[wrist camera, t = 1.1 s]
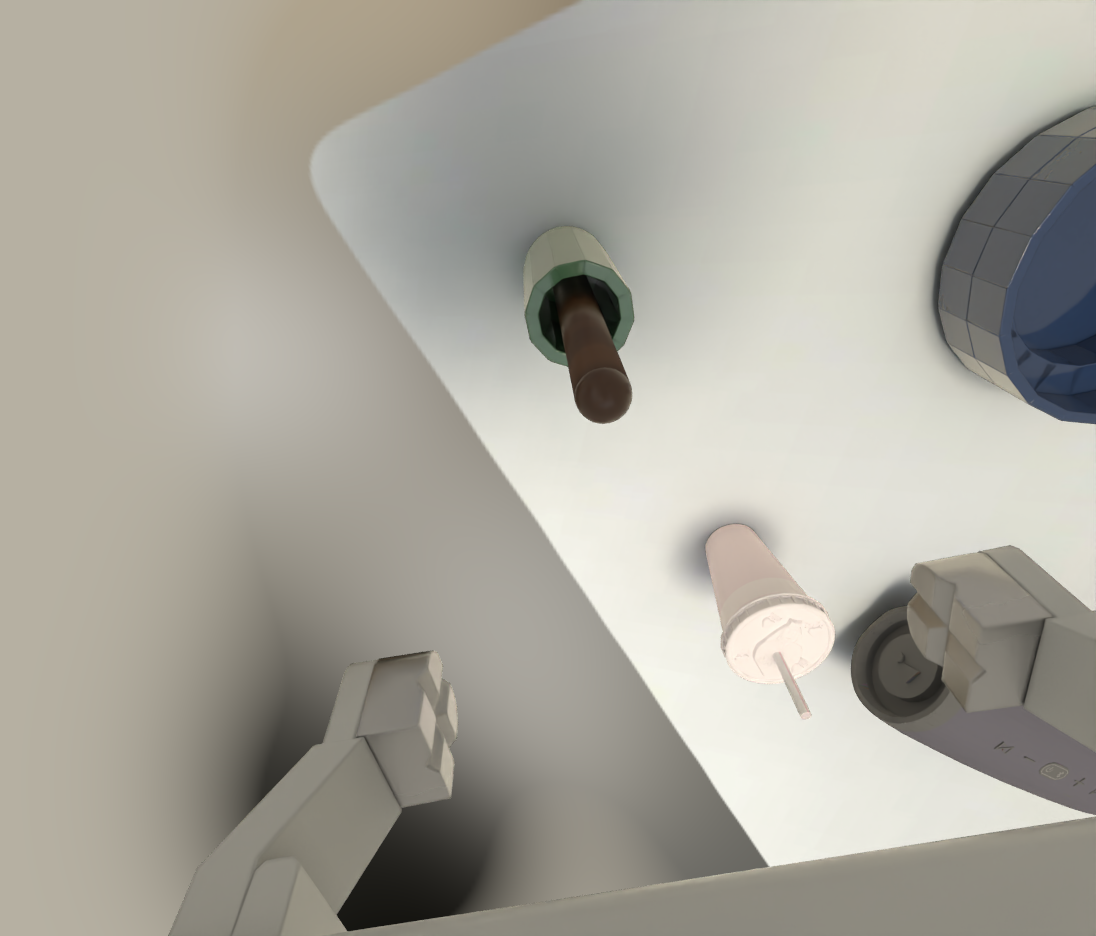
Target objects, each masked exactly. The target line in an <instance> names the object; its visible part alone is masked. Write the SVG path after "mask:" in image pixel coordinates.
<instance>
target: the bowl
mask: <svg viewBox="0 0 1096 936" xmlns="http://www.w3.org/2000/svg"><path fill="white" fill-rule="evenodd" d="M943 264H944V265H942V272H941V281H940V290H939V300H938V310H939V314H940V318H941V322H942V326H943V330H944V334H945V338H946V342H947V343H948V345H949V346H950V347H951V349H952V350H953V351H954V352H955V354H956V355H957V356H958V358H959V359H960V360H961V361H962V363H963V364H964V365H965V366H966V368H967V369H969V370H970V371H972V372H974V373H976V374H977V375H979V376H981V377H982V378H984V379H986V380H988V381H989V382H991V383H993V384H994V385H996V386H998V387H1000V388H1001V389H1003V390H1005V391H1007V392H1008V393H1010V394H1012V395H1013V396H1015V397H1017V398H1019V399H1020V400H1022V401H1024V402H1025V403H1027V404H1029V405H1031V406H1033V407H1035V408H1037V409H1039V410H1041V411H1043V412H1045V413H1047V414H1048V415H1050V416H1052V417H1054V418H1056V419H1058V420H1061V421H1068V422H1078V423H1088V424H1096V107H1091V108H1089V109H1085V110H1084V111H1082V112H1080V113H1078V114H1076V115H1074V116H1072V117H1070V118H1069V119H1067V120H1065V121H1063V122H1061V123H1059V124H1057V125H1055V126H1054V127H1052V128H1050V129H1048V130H1046V131H1044V132H1042V133H1041V134H1039V135H1038V136H1035V137H1034V138H1033V139H1032V140H1031V141H1030V142H1029V143H1028V144H1026V145H1025V146H1024V147H1023V148H1022V149H1021V150H1020V151H1019V152H1017V153H1016V154H1015V155H1014V156H1013V157H1012V158H1011V159H1009V160H1008V161H1007V162H1006V163H1005V164H1004V165H1003V166H1002V167H1000V168H999V169H998V170H997V171H996V172H995V173H994V174H993V175H992V176H991V178H990V179H989V181H988V182H987V183H986V185H985V186H984V187H983V189H982V190H981V192H980V193H979V194H978V196H977V197H976V199H975V200H974V201H973V203H972V204H971V206H970V207H969V208H968V210H967V211H966V212H965V214H964V215H963V217H962V219H961V221H960V223H959V225H958V228H957V230H956V233H955V235H954V238H953V240H952V243H951V245H950V247H949V250H948V252H947V255H946V257H945V260H944V262H943Z"/></svg>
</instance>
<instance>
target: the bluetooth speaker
mask: <svg viewBox="0 0 1096 936" xmlns="http://www.w3.org/2000/svg"><path fill="white" fill-rule="evenodd" d="M907 608H908V606H902V607H897V608H894V609H891V610H889V611H887V612H886V613H884V614H883V615H881V616H880V617H879V618H878V619H877V620H875V621H874V622H873V623H872V624H871V625H870V626H869V627H868V628H867V629H866V630H865V631H864V632H863V634H862V635H861V636H860V638H859V639H858V641H857V643H856V645H855V648H854V651H853V655H852V661H851V677H852V683H853V687H854V690H855V692H856V694H857V696H858V698H859V700H860V701H861V702H862V704H863V705H864V706H865V707H866V708H867V709H868V710H869V711H870V712H871V713H872V714H874V715H875V716H876V717H878V718H879V719H880V720H882V721H884V722H885V723H887V724H888V725H890V726H891V727H893V728H895V729H896V730H898V731H900V732H901V733H903V734H905V735H907V736H909V737H911V738H912V739H914V740H916V741H918V742H920V743H922V744H924V745H926V746H928V747H930V748H932V749H934V750H936V751H938V752H940V753H942V754H944V755H946V756H948V757H950V758H952V759H954V760H956V761H958V762H960V763H963V764H965V765H967V766H969V767H971V768H973V769H976V770H978V771H980V772H982V773H984V774H987V775H989V776H991V777H993V778H996V779H998V780H1000V781H1002V782H1005V783H1007V784H1010V785H1012V786H1015V787H1017V788H1020V789H1022V790H1025V791H1027V792H1030V793H1032V794H1035V795H1037V796H1039V797H1042V798H1045V799H1047V800H1050V801H1053V802H1055V803H1058V804H1061V805H1064V806H1066V807H1069V808H1072V809H1075V810H1078V811H1082V812H1085V813H1089V814H1094V815H1096V752H1094V751H1093V750H1091V749H1089V748H1088V747H1086V746H1084V745H1083V744H1081V743H1079V742H1078V741H1076V740H1075V739H1073V738H1071V737H1070V736H1068V735H1066V734H1065V733H1063V732H1061V731H1060V730H1058V729H1057V728H1055V727H1053V726H1052V725H1050V724H1048V723H1047V722H1045V721H1043V720H1042V719H1040V718H1039V717H1037V716H1035V715H1034V714H1032V713H1030V712H1029V711H1027V710H1025V709H1024V708H1023V707H1024V705H1022V706H1015V707H1008V708H1001V709H993V710H986V711H979V712H971V713H966V712H965V710H964V709H963V708H962V706H961V705H960V704H959V702H958V701H957V700H956V698H955V697H954V696H953V694H952V693H951V692H950V691H949V689H948V688H947V687H946V685H945V684H944V683H943V681H942V680H941V679H942V672H943V667H941V666H939V665H937V664H935V663H934V662H932V661H930V660H928V659H926V658H925V657H924V656H923V654H922V653H921V651H920V650H919V649H918V647H917V646H916V644H915V642H914V640H913V638H912V635H911V633H910V629H909V625H908V620H907Z"/></svg>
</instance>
